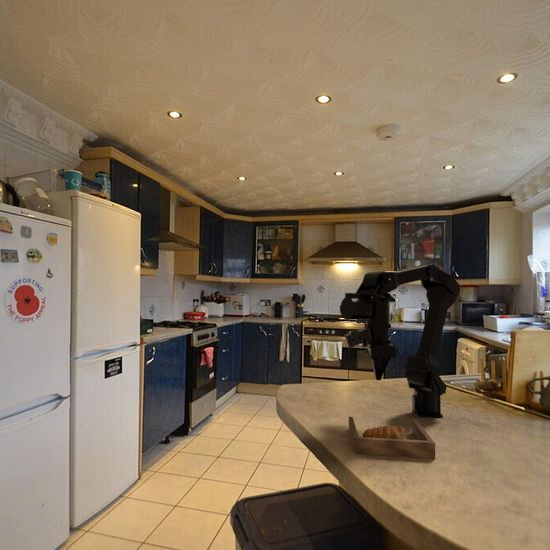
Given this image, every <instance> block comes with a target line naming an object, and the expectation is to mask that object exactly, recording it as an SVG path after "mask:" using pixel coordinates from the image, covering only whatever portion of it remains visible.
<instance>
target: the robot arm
mask: <svg viewBox="0 0 550 550" xmlns="http://www.w3.org/2000/svg"><path fill="white" fill-rule="evenodd" d="M363 276H364V277H363V278H362V281H361V283H360V285H359V287H358V288H357V290H356V292H355V293H354V292H345V293H344V298H342V300H341V303H340V305H339V313H340V316H341V317H342V319H344V320H345V321H359V320H360V321H365V320H366V322H365V323H364V326H363V328H361V329H354V330H350V332H348V333H345V334H344V339H345V340H346V343H347V346H348V348H350V349H351V348H354V347H356V346H358V345H361V347H362V348H364V349H365V348H366V347H367V350H364V352H365V354H366V355H367V356H369V357H370V359H371V363H372V364H371V365H372V369H373V372H374V373H373V374H374V377H375V380H376V381H381V380H382V378H383V376H384V373H385V372H386V369H387V367H388V365H389V363H390V361H391V359H392V358H393V359H395V358H398V357H399V351H398V350H399V349H398V348H397V347H396V346H395V345H394V344H392V340H391V339H390V329H392V324H391V323H390V303H396V301H397V300H396V298H394V296H392V295H391V292H393V291H395V290H397V289H398V287H399V286H401V285H405V284H409V283H415V282H417V281H420V284H421V287H422V288H423V289H424V290H426V294H425V295H426V299H427V302H428V304H429V305H428V310H427V314H426V318H425V321H424V325H423V329H422V333H421V338H420V342H419V345H418V348H417V349H418V350H417V352H416V353H415V354H414V355H408V357H407V361H406V366H405V367H404V370H405V372H404V373H405V374H404V375H405V377H406V380H407V385H408V387H409V389H413V394H412V395H411V403H412V405H411V407H412V408H411V409H412V410H413V411H414V412H415V414H416V415H417V416H419V417H428V418H429V417H433V418H443V417H444V415H443V414H442V412H441V411H442V410H441V407H442V405H441V396H443V395H445V394H446V392H447V389H448V388H447V387H448V386H447V384H446V382H444V380H443V378H441V377H440V371H441V369H440V368H441V367H440V365H439V362H438V359H437V357H438V356H437V355H438V352H439V348H440V342H441V339H442V334H443V330H444V327H445V322H446V318H447V314H448V310H449V309H450V308H451V307H452V306H453V305H454V304H455V303H456V301H457V299H458V296H459V294H460V290H461V287H460V284H459V282H458V281H457V279H455V278H454V277H453V276H452V275H451V274H449V273H447V272H446V271H444V270H441V269H439V267H437V266H436V265H435V264H433V263H426V264H418V265H417V266H413V267H409V268H404V269H399V270H395V271H394V270H393V271H392V270H385V271H384V270H383V271H382V270H381V271H372V272H371V271H370V272H366V273H365V274H364V275H363Z"/></svg>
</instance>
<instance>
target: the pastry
mask: <svg viewBox="0 0 550 550" xmlns="http://www.w3.org/2000/svg"><path fill="white" fill-rule="evenodd" d="M405 432H406V431H405V427H403V426H400V427H396V426H393V425H384V426H382V425H381V426H377V427H376V426H374V427H373V428H367V429H366V430H364V431H363V433H362V437H370V438H387V439H405V440H407V439H406V434H405Z"/></svg>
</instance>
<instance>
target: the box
mask: <svg viewBox="0 0 550 550" xmlns="http://www.w3.org/2000/svg"><path fill="white" fill-rule="evenodd" d="M354 420H355V419H354V417H353V416H348V432H349V436H350V442H351V446H352V450H353V452H354V454H358V455H359V454H360V455H373V456H374V455H375V456H378V455H379V456H390V457H391V456H393V457H407V458H410V457H411V458H422V459H423V458H424V459H436V443H435V441H434V440H433V439H432V437H431V436H430V434H428V432H427V431H426V430H425V428H424V427H423V426H422V425H421V424H420V422H419V421H418V420H417V419H412V420H411V423H412V424H411V426H412V427H411V428H412V430H411V432H412V435H413V436H414V437H415V439H406V440H405V439H387V438H370V437H363V436H359V434H358V430H357V426H356V424H355V421H354Z"/></svg>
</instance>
